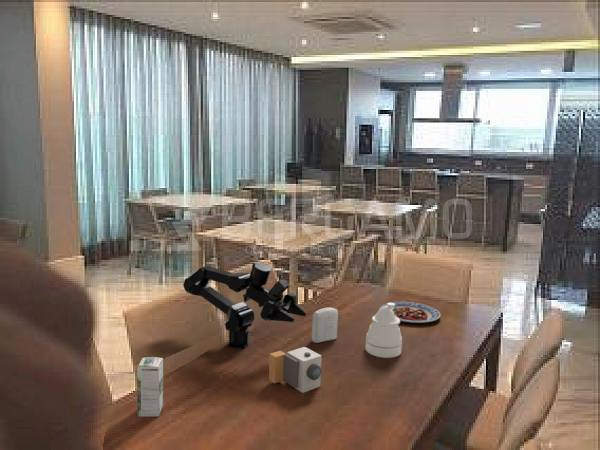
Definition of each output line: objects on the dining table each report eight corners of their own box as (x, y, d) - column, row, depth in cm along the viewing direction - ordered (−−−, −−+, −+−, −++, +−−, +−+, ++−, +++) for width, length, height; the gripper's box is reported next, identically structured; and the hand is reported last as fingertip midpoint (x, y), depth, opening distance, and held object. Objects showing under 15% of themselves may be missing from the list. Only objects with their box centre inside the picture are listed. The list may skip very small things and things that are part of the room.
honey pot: (408, 350, 182) (411, 303, 179) (388, 361, 173) (391, 311, 170) (378, 340, 191) (381, 294, 188) (358, 349, 182) (361, 301, 178)
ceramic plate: (447, 314, 223) (448, 307, 222) (428, 331, 202) (429, 324, 201) (393, 302, 237) (393, 296, 236) (370, 317, 215) (370, 311, 215)
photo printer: (331, 335, 194) (333, 304, 192) (338, 339, 190) (340, 307, 188) (309, 340, 188) (311, 308, 186) (316, 344, 185) (317, 312, 183)
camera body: (285, 382, 155) (286, 350, 153) (303, 376, 160) (304, 344, 158) (306, 395, 148) (307, 362, 146) (324, 388, 152) (325, 356, 150)
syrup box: (142, 406, 139) (141, 356, 137) (163, 405, 140) (163, 356, 137) (137, 417, 133) (136, 366, 131) (160, 417, 134) (159, 366, 132)
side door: (269, 379, 155) (269, 353, 153) (279, 376, 157) (280, 350, 156) (286, 391, 148) (287, 364, 146) (297, 387, 150) (298, 360, 149)
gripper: (256, 279, 163) (296, 301, 157) (282, 271, 180) (319, 291, 174) (245, 308, 166) (283, 332, 160) (272, 299, 182) (308, 319, 176)
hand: (299, 317), depth 167 cm, fingers open, 9 cm apart
